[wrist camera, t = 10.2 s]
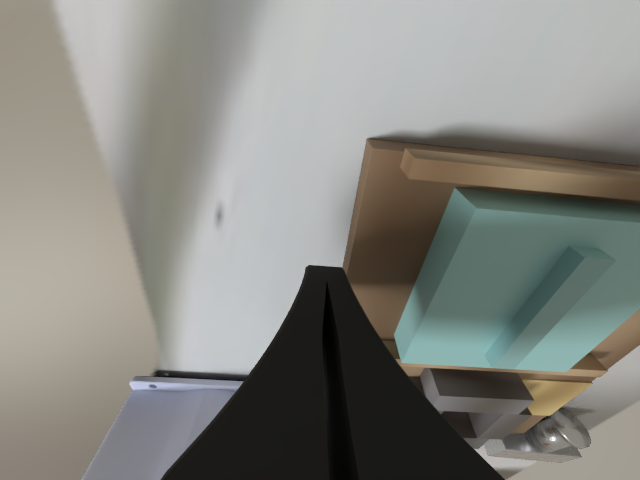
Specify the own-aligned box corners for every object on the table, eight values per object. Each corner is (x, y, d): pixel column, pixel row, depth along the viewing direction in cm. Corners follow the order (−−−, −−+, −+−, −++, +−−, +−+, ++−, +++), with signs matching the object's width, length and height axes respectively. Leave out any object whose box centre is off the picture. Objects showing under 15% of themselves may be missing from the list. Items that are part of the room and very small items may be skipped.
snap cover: (393, 334, 13) (405, 375, 12) (454, 187, 9) (487, 218, 7) (544, 344, 14) (576, 385, 12) (675, 208, 9) (756, 242, 8)
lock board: (316, 406, 20) (315, 455, 18) (367, 135, 9) (385, 164, 7) (513, 416, 21) (539, 463, 19) (787, 178, 10) (943, 218, 7)
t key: (521, 403, 20) (477, 425, 23) (541, 442, 18) (489, 460, 22) (599, 413, 21) (544, 433, 24) (625, 451, 19) (562, 467, 23)
